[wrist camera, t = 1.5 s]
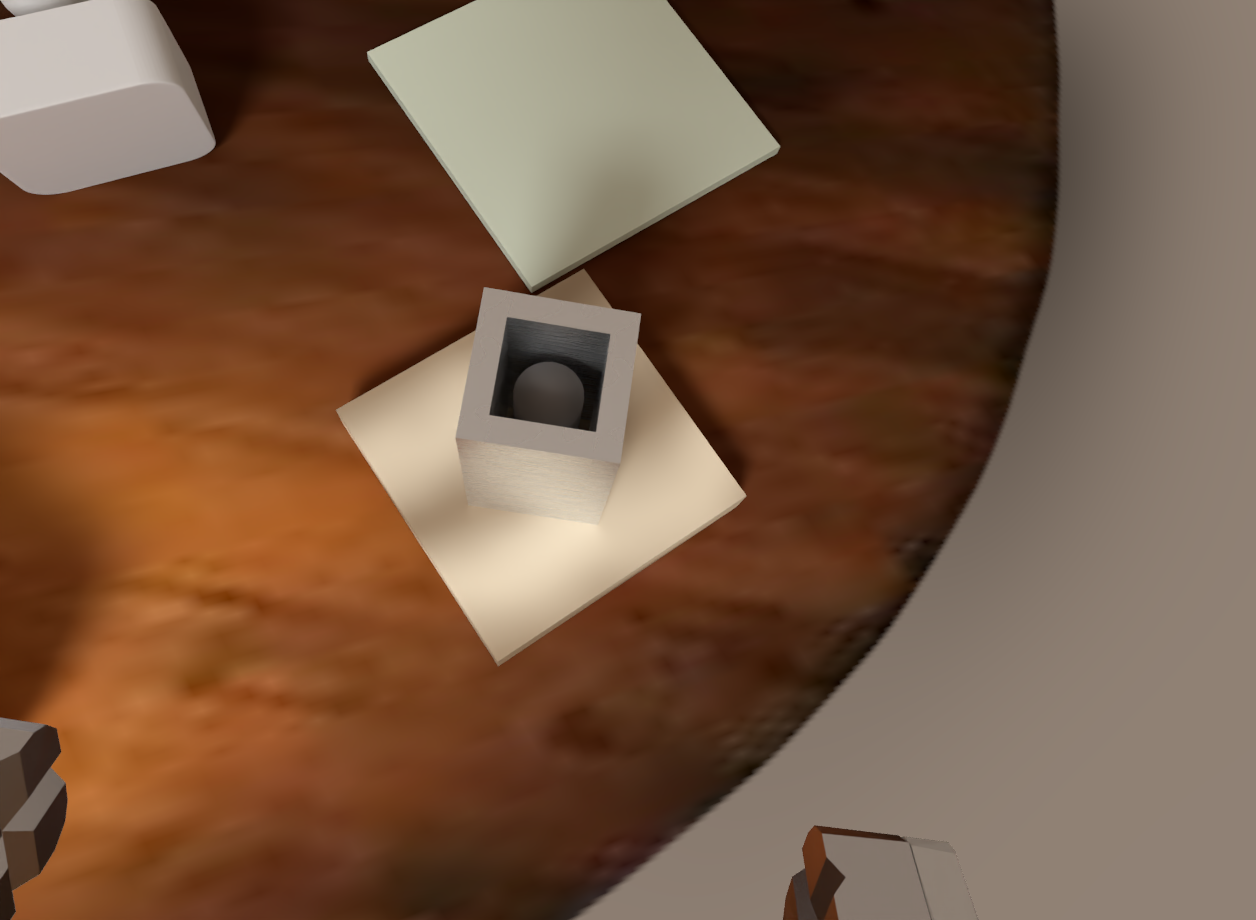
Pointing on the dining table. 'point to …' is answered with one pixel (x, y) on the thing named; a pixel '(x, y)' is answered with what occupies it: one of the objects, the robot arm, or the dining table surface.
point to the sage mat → (571, 120)
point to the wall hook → (94, 94)
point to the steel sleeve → (534, 452)
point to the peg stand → (528, 544)
